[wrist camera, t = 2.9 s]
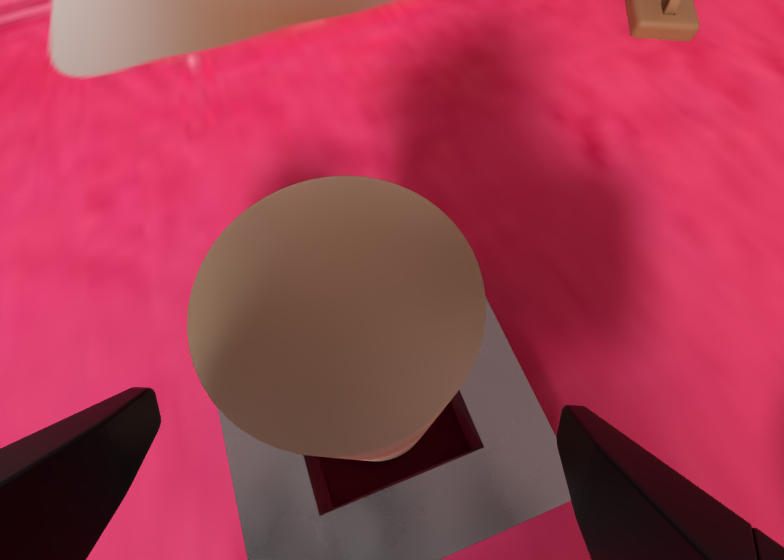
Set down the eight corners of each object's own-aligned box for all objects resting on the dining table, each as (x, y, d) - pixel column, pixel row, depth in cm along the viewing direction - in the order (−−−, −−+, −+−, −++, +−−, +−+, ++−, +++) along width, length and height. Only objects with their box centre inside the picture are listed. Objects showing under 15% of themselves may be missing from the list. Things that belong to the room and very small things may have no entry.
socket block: (554, 489, 17) (585, 494, 14) (288, 607, 15) (263, 638, 13) (444, 259, 21) (451, 228, 18) (227, 335, 20) (199, 314, 17)
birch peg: (445, 437, 18) (540, 383, 6) (345, 478, 17) (218, 513, 5) (406, 342, 19) (418, 144, 7) (315, 376, 19) (166, 223, 7)
